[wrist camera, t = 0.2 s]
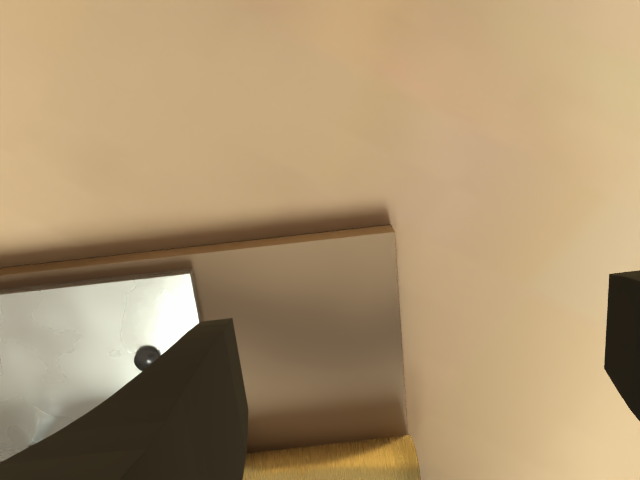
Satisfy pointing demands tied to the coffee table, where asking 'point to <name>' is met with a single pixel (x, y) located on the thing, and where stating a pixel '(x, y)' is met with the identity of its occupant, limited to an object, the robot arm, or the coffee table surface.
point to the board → (290, 327)
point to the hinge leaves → (82, 346)
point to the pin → (338, 461)
